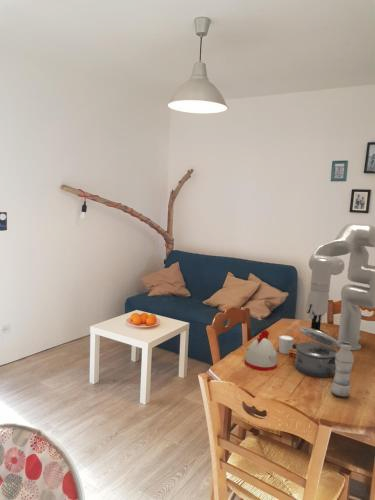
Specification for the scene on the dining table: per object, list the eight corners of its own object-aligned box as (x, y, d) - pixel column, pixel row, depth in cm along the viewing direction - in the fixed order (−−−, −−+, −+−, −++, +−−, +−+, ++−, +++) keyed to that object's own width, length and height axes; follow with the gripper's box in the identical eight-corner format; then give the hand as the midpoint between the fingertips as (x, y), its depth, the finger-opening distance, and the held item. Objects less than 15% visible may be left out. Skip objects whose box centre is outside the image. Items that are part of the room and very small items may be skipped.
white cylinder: (292, 355, 179) (294, 341, 178) (277, 353, 180) (279, 339, 179) (292, 349, 186) (293, 336, 185) (277, 348, 187) (278, 334, 186)
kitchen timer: (282, 364, 168) (285, 331, 166) (266, 374, 158) (269, 339, 156) (255, 354, 177) (258, 323, 175) (238, 363, 167) (240, 330, 165)
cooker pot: (302, 356, 178) (304, 337, 177) (356, 376, 159) (358, 356, 158) (281, 364, 167) (283, 345, 166) (336, 388, 149) (338, 366, 147)
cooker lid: (309, 339, 175) (312, 332, 176) (343, 350, 163) (346, 343, 164) (293, 325, 165) (296, 318, 166) (329, 336, 153) (332, 329, 153)
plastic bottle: (327, 390, 146) (332, 340, 144) (344, 390, 147) (350, 340, 144) (335, 399, 140) (341, 346, 137) (353, 399, 141) (359, 347, 138)
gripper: (321, 284, 167) (316, 324, 169) (301, 287, 157) (297, 330, 159) (337, 287, 161) (332, 329, 163) (318, 291, 151) (313, 335, 153)
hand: (315, 330), depth 161 cm, fingers closed
